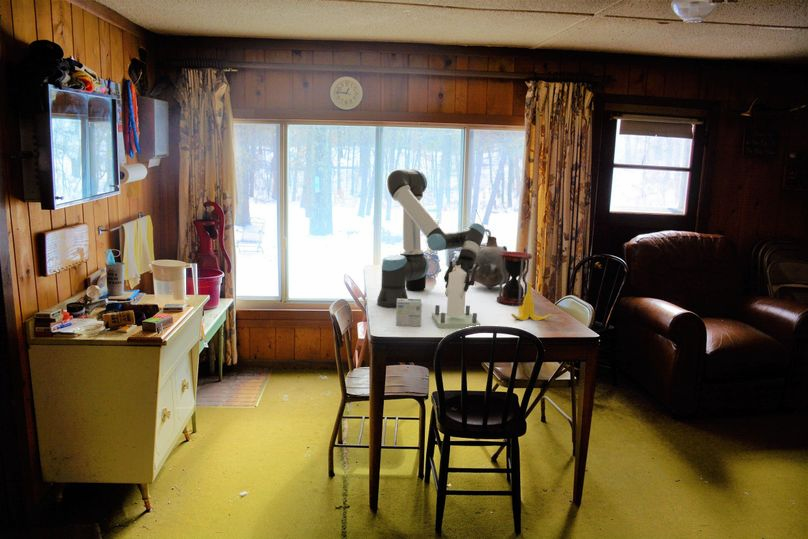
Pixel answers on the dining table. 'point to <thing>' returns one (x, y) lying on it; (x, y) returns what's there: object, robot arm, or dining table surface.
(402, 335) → the dining table surface
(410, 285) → the coffee jar
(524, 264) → the hourglass
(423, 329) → the dining table surface
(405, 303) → the light bulb box
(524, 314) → the banana peel
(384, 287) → the robot arm
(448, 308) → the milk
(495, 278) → the jug
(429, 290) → the dining table surface
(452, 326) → the peg board
